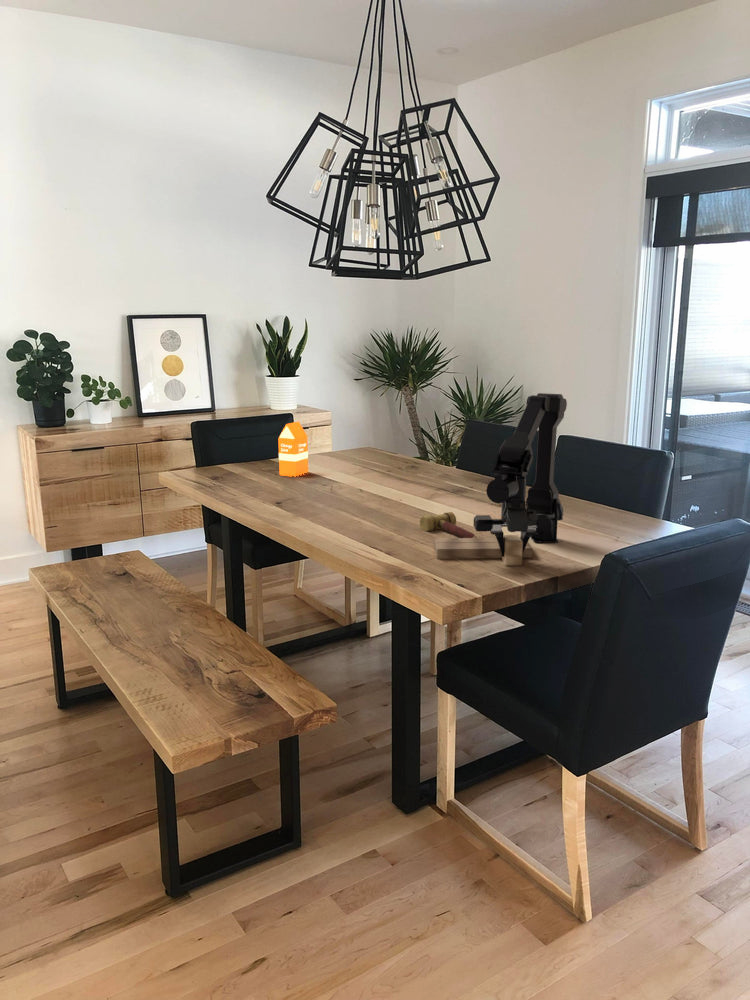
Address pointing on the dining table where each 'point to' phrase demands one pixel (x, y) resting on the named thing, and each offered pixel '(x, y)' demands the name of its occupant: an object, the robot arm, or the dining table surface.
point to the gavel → (444, 524)
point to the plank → (471, 548)
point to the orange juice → (293, 450)
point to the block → (512, 550)
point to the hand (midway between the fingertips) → (511, 556)
